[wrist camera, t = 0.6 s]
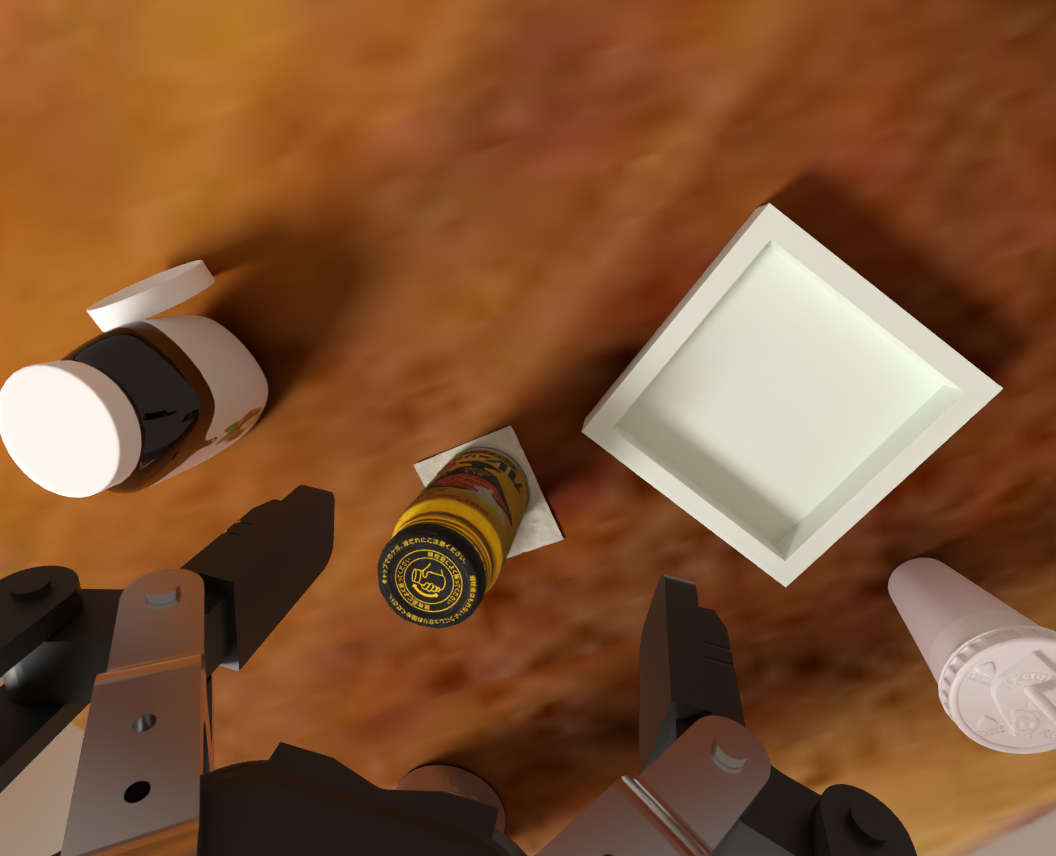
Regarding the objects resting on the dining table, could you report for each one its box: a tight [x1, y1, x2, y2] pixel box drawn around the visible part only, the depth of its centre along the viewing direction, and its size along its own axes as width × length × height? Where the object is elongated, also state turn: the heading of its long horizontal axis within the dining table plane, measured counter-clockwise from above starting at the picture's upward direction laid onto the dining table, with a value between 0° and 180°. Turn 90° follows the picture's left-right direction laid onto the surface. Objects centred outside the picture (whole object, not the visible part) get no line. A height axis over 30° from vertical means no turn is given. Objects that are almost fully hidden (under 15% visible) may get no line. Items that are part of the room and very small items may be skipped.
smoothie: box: [888, 558, 1056, 754], centre depth 28 cm, size 6×6×14 cm
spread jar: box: [0, 260, 269, 497], centre depth 33 cm, size 12×11×12 cm
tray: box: [582, 203, 1003, 587], centre depth 32 cm, size 15×15×3 cm
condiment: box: [378, 426, 563, 628], centre depth 32 cm, size 7×8×12 cm
